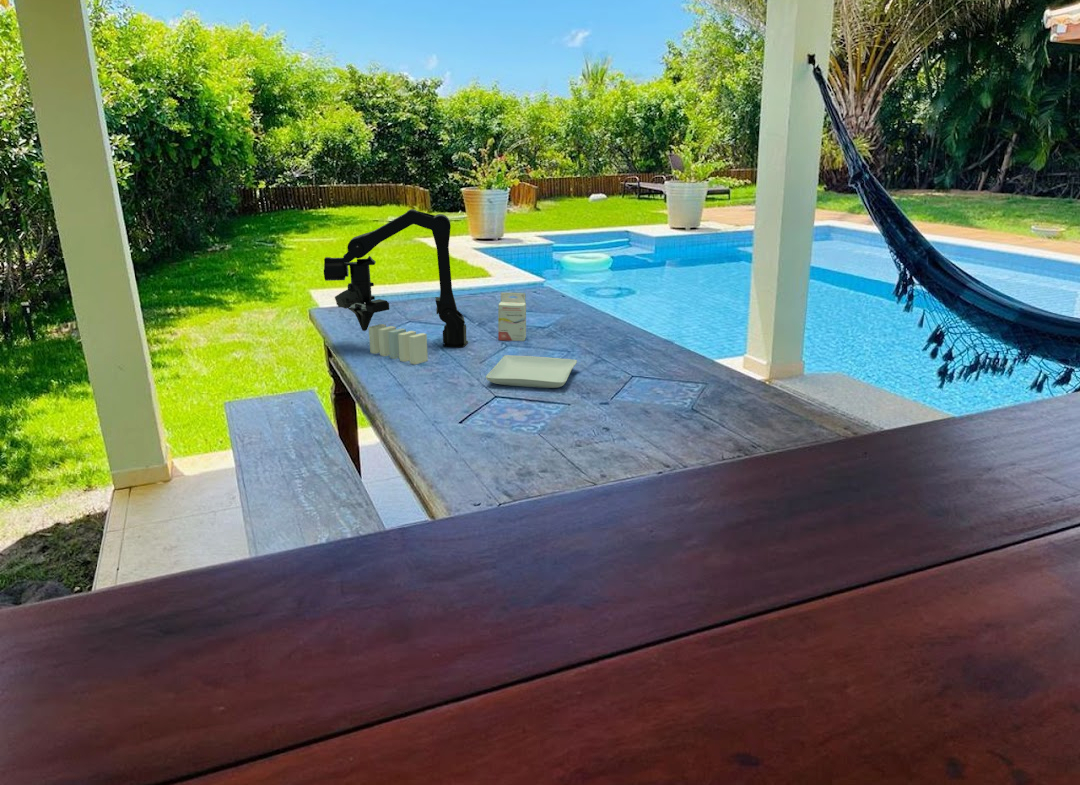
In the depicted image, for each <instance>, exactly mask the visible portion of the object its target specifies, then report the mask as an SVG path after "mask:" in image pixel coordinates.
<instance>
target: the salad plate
mask: <svg viewBox="0 0 1080 785" xmlns="http://www.w3.org/2000/svg"><path fill="white" fill-rule="evenodd" d="M577 364H578V360H577V359H572V358H557V357H546V356H532V355H531V356H530V355H514V354H513V355H512V354H505V355H504V356H502V357H501V359H500V360H499V361H498V363H497V364H496V365H495V366H494V367H493V368H492V369H491V370H490V371H489V372H488V373H487V374H486V376H485V379H486V380H487V381H488V382H489V383H493V384H495V385H501V386H511V387H523V388H524V387H526V388H541V389H555V388H560V387H562V386H564V385H565V384H566V382H567V380H569V376H570V374H571V372H572V371H573V369H574V368H575V366H576V365H577Z"/></svg>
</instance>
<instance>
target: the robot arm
mask: <svg viewBox="0 0 1080 785" xmlns="http://www.w3.org/2000/svg"><path fill="white" fill-rule="evenodd" d="M412 225H416V226H418V227H421V228H424V229H427V230H429V231H431V232H432V236H433V239H434V240H433V241H434V243H435V247H436V254H437V267H438V277H439V278H438V279H439V289H440V292H439V296H436V297H435V298H434V299H435V306H436V310H435V312H436V315H438V317H439V319H440V320H441V321H442V322H443V323H445V325H443V330H442V344H443V345H442V347H447V348H464V347H465V346H466V345H467V344H468V343H469V340H467V324H466V322H465V316H464V315H463V313H461V312H460V311H459V310H458V306H457V303H456V300H455V295H454V293H453V286H452V285H453V284H452V275H451V274H452V273H451V260H450V250H449V246H450V237H451V221H450V219H449V217H448V216H447V215H445V214H443V213H439V214H436V215H435V214H431V213H427V212H423V211H419V210H416V209H415V208H414V209H413V208H411V209H409V210H407V211H406V212H404V214H402V215H399V216H398V217H396V218H394V219H392V220H391V221H389V222H387V223H385V224H383V225H382V226H380V227H378V228H376V229H375V230H372V231H369V232H365V233H362V234H359V235H357V236H354V237H352V239H350V241H349V242H348V243H347V252H346V253H344V255H343V257H330V256H326V257H324V259H323V260H324V264H323V268H324V269H323V276H324V277H323V278H324V281H326V282H327V281H330V282H331V281H345V280H346V278H348V277H349V272H350V283H348V284H347V289H346V290H343V291H342V292H340V293H338V294H337V295H336V296H334V300H335V301H336V306H337V307H338V308H343V309H344V310H346V309H348V310H349V311H350V312H352V313H353V314H355V317H356V319H357V321H358V324H359V326H360V328H361V331H362V332H366V331H367V330H368V329H369V327H370V323H371V321H372V318H373V316H374V314H375V313H380V312H385V311H389V310H390V302H389V301H387V300H386V299H385V300H384V299H380V298H378V299H376V298H375V295H372V287H374V286H375V284H374V282H372V281H371V272H370V270H371V269H370V266H375V264H376V260H374V259H373V258H372V256H371V255H368V256H367V258H364V257H365V256H366V255H367V254H369V253H370V252H371V251H372V250H373V249H374V248H376V247H377V245H379V244H380V243H382V242H383V241H386V240H387V239H389V238H391V237H393V236H394V235H396V234H398V233H400V232H401V231H403V230H406V229H407V228H409V227H410V226H412ZM354 259H356V261H353V260H354Z"/></svg>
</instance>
